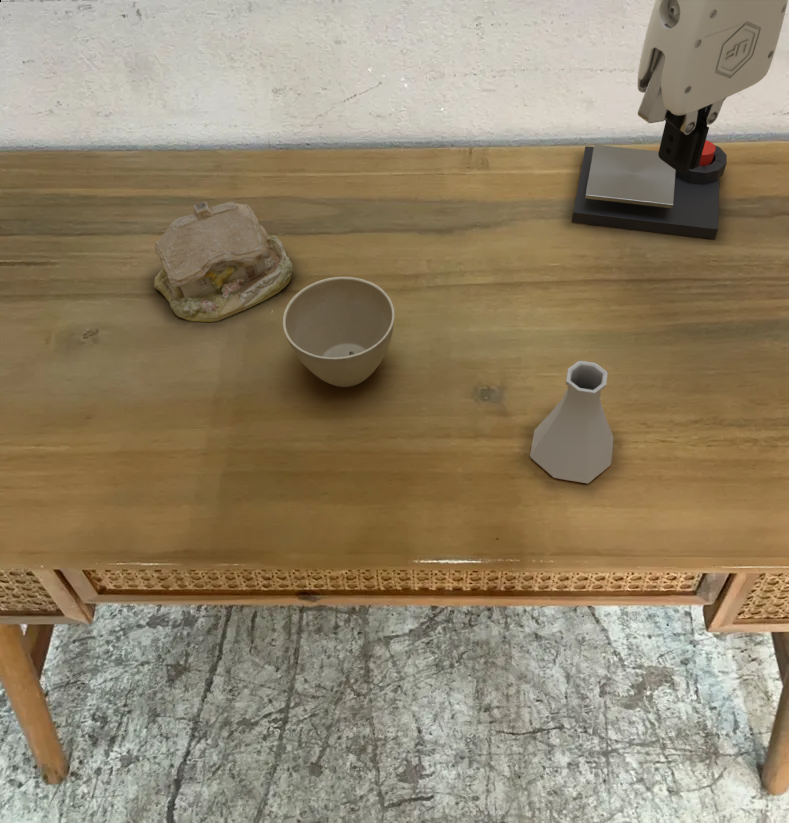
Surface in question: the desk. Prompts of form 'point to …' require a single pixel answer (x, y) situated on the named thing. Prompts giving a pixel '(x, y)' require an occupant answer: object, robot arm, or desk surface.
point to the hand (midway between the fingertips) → (677, 162)
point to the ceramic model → (219, 263)
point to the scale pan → (630, 177)
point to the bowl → (340, 328)
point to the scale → (686, 218)
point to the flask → (576, 429)
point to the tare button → (707, 153)
